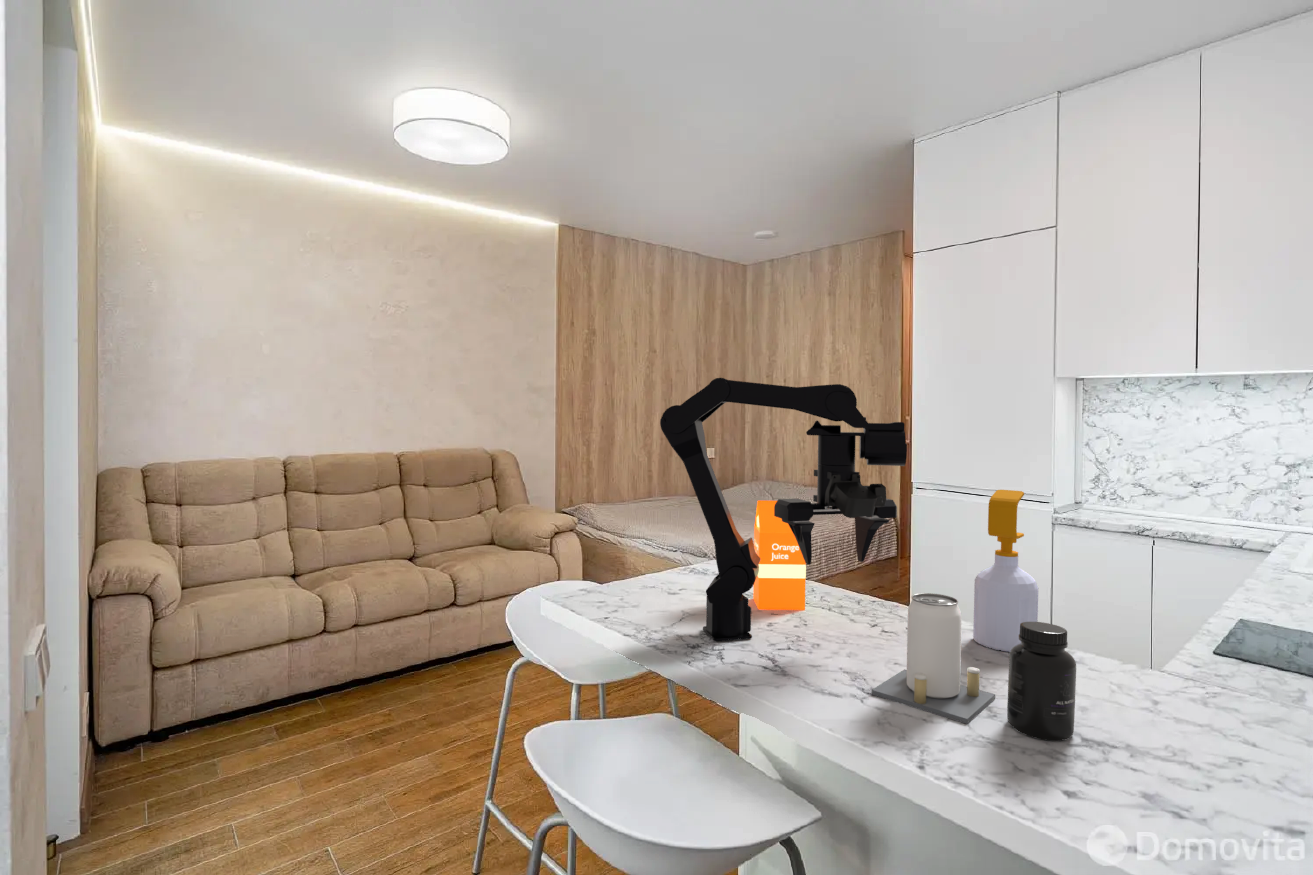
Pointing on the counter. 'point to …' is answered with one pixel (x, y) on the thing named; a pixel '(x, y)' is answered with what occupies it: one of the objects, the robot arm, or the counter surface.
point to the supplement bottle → (1042, 683)
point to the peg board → (954, 708)
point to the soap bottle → (1003, 581)
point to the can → (934, 644)
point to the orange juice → (777, 563)
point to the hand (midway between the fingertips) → (834, 562)
